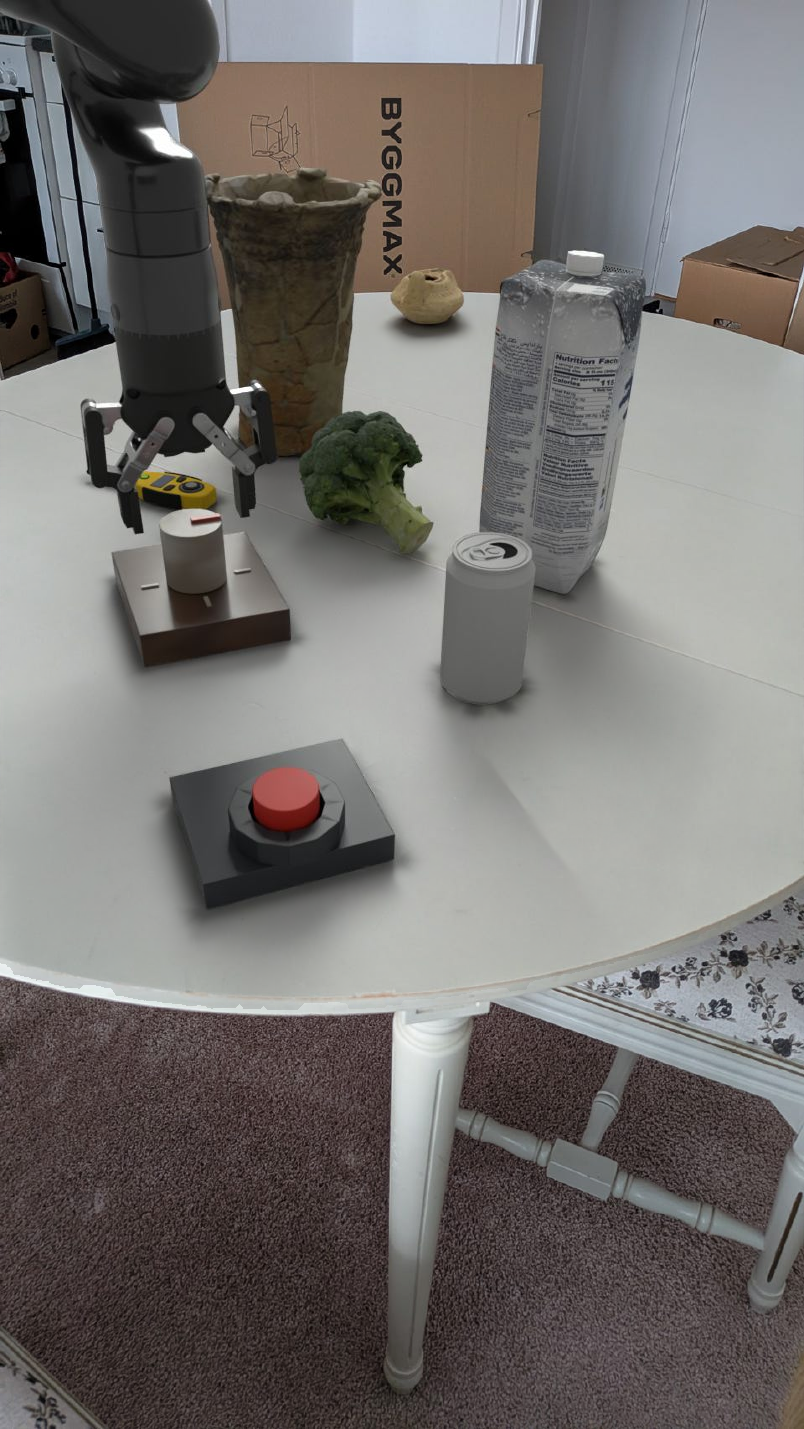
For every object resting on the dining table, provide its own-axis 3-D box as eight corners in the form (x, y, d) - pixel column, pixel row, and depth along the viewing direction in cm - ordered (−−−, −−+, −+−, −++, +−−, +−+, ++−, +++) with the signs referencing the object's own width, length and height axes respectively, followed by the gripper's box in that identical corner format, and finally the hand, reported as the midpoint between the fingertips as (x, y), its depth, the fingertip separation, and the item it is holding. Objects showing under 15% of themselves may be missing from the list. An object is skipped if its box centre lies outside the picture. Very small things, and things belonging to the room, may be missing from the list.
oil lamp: (468, 306, 158) (472, 252, 153) (457, 335, 146) (461, 278, 141) (400, 301, 159) (402, 247, 154) (384, 329, 147) (385, 272, 142)
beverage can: (535, 700, 76) (554, 563, 69) (459, 718, 74) (470, 578, 67) (498, 656, 81) (513, 522, 74) (426, 671, 79) (433, 535, 72)
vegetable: (350, 567, 87) (254, 446, 91) (385, 601, 100) (300, 493, 103) (457, 477, 86) (356, 358, 90) (480, 522, 98) (390, 416, 102)
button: (263, 839, 59) (262, 817, 58) (246, 796, 62) (244, 774, 61) (328, 823, 60) (327, 801, 59) (308, 781, 63) (307, 760, 62)
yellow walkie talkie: (198, 498, 98) (70, 469, 102) (199, 516, 99) (73, 487, 103) (223, 479, 101) (98, 452, 105) (224, 497, 102) (101, 469, 107)
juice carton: (573, 605, 88) (623, 281, 71) (466, 573, 91) (490, 259, 75) (608, 562, 94) (661, 255, 77) (506, 534, 98) (536, 236, 81)
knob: (173, 598, 81) (165, 537, 77) (161, 569, 84) (153, 510, 81) (233, 588, 82) (228, 528, 79) (219, 559, 86) (213, 501, 83)
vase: (186, 433, 115) (159, 172, 98) (302, 394, 126) (296, 154, 109) (292, 482, 105) (282, 202, 89) (408, 435, 116) (418, 179, 100)
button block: (208, 915, 59) (201, 868, 56) (172, 801, 66) (165, 756, 64) (397, 864, 63) (398, 818, 60) (343, 762, 70) (342, 717, 68)
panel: (144, 667, 78) (139, 634, 76) (116, 581, 89) (110, 550, 87) (291, 639, 82) (289, 607, 80) (247, 560, 92) (245, 529, 90)
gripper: (251, 291, 75) (264, 489, 85) (55, 306, 71) (93, 514, 81) (279, 320, 70) (289, 529, 80) (69, 339, 65) (107, 557, 75)
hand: (190, 521), depth 80 cm, fingers open, 8 cm apart
